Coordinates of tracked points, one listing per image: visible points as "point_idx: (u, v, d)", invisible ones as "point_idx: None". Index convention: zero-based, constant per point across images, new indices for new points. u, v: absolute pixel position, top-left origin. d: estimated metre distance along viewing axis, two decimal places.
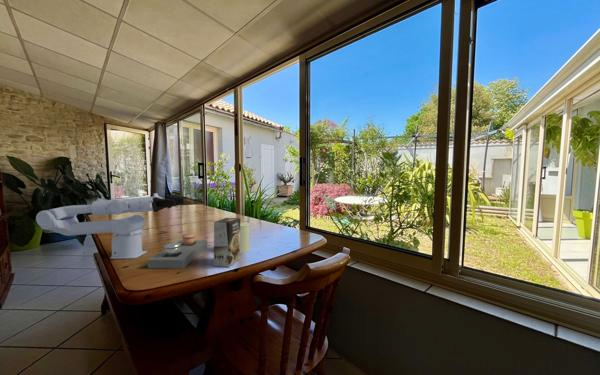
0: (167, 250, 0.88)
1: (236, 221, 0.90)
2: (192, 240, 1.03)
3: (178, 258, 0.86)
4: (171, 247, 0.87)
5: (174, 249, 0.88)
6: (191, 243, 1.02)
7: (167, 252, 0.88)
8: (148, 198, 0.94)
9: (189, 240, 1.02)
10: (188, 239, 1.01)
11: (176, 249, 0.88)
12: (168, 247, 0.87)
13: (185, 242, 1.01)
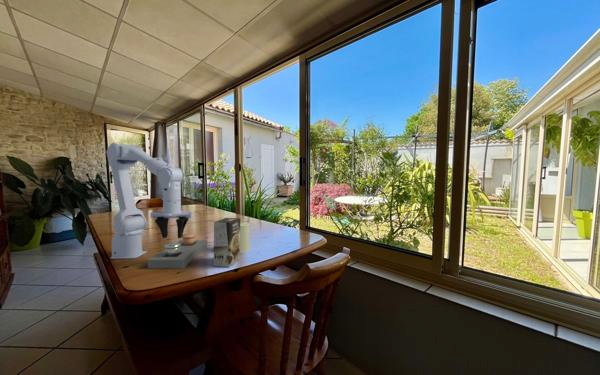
0: (167, 250, 0.88)
1: (236, 221, 0.90)
2: (192, 240, 1.03)
3: (178, 258, 0.86)
4: (171, 247, 0.87)
5: (174, 249, 0.88)
6: (191, 243, 1.02)
7: (167, 252, 0.88)
8: (164, 208, 0.86)
9: (189, 240, 1.02)
10: (188, 239, 1.01)
11: (176, 249, 0.88)
12: (168, 247, 0.87)
13: (185, 242, 1.01)
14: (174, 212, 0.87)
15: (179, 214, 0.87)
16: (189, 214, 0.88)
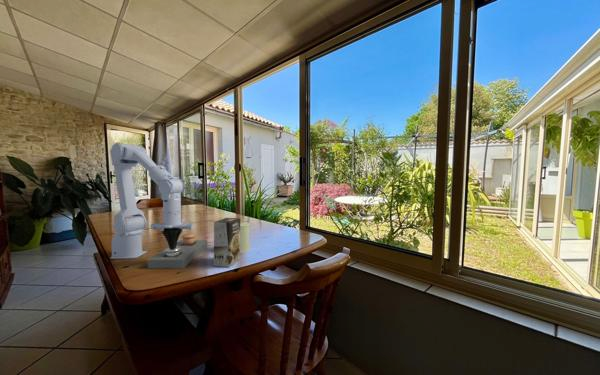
0: (167, 254, 0.88)
1: (236, 221, 0.90)
2: (192, 240, 1.03)
3: (178, 258, 0.86)
4: (171, 251, 0.87)
5: (174, 253, 0.88)
6: (191, 243, 1.02)
7: (167, 256, 0.88)
8: (164, 220, 0.87)
9: (189, 240, 1.02)
10: (188, 239, 1.01)
11: (176, 253, 0.89)
12: (168, 251, 0.87)
13: (185, 242, 1.01)
14: (174, 223, 0.87)
15: (179, 225, 0.87)
16: (189, 225, 0.88)
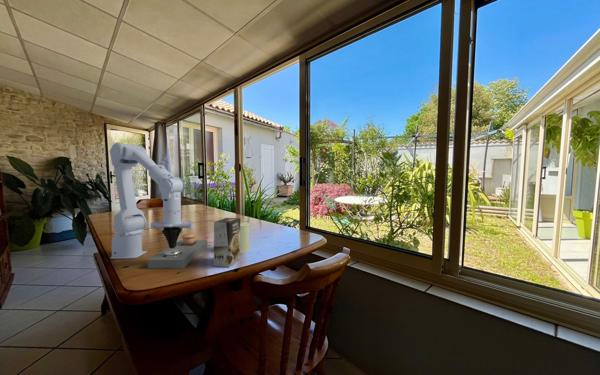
0: None
1: (236, 221, 0.90)
2: (192, 240, 1.03)
3: (178, 258, 0.86)
4: (171, 254, 0.87)
5: (174, 256, 0.88)
6: (191, 243, 1.02)
7: None
8: (164, 219, 0.87)
9: (189, 240, 1.02)
10: (188, 239, 1.01)
11: (176, 256, 0.89)
12: (168, 254, 0.87)
13: (185, 242, 1.01)
14: (174, 223, 0.87)
15: (179, 225, 0.87)
16: (189, 224, 0.88)
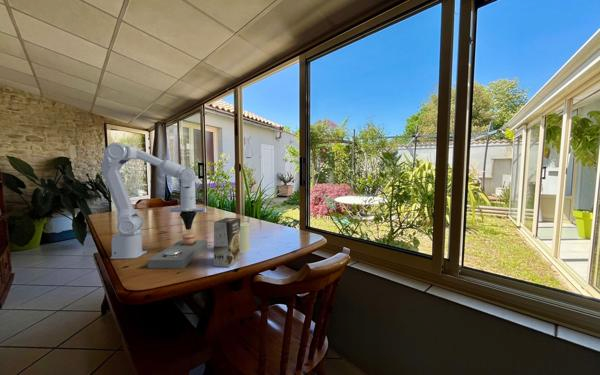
0: None
1: (236, 221, 0.90)
2: (192, 240, 1.03)
3: (178, 258, 0.86)
4: (171, 254, 0.87)
5: (174, 256, 0.88)
6: (191, 243, 1.02)
7: None
8: (182, 204, 1.00)
9: (189, 240, 1.02)
10: (188, 239, 1.01)
11: (176, 256, 0.89)
12: (168, 254, 0.87)
13: (185, 242, 1.01)
14: (190, 207, 1.01)
15: (194, 209, 1.01)
16: (203, 209, 1.02)
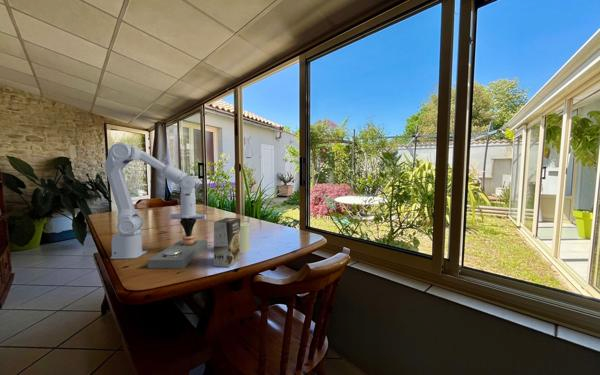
0: None
1: (236, 221, 0.90)
2: (192, 241, 1.03)
3: (178, 258, 0.86)
4: (171, 254, 0.87)
5: (174, 256, 0.88)
6: (191, 244, 1.02)
7: None
8: (182, 211, 1.00)
9: (189, 241, 1.02)
10: (188, 240, 1.01)
11: (176, 256, 0.89)
12: (168, 254, 0.87)
13: (185, 243, 1.01)
14: (190, 214, 1.01)
15: (194, 216, 1.01)
16: (203, 216, 1.02)
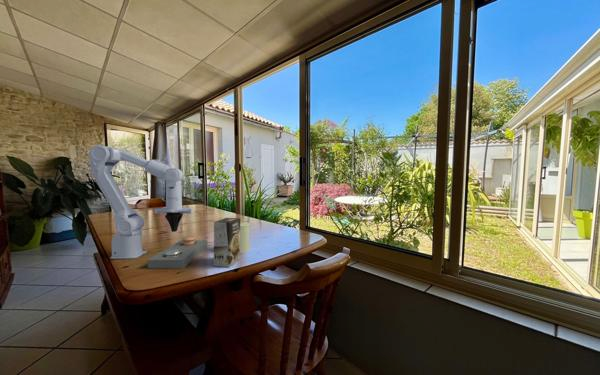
0: None
1: (236, 221, 0.90)
2: (192, 243, 1.03)
3: (178, 258, 0.86)
4: (171, 254, 0.87)
5: (174, 256, 0.88)
6: None
7: None
8: (167, 205, 0.96)
9: (189, 243, 1.02)
10: (188, 242, 1.01)
11: (176, 256, 0.89)
12: (168, 254, 0.87)
13: (185, 245, 1.01)
14: (176, 208, 0.97)
15: (180, 210, 0.97)
16: (189, 210, 0.98)
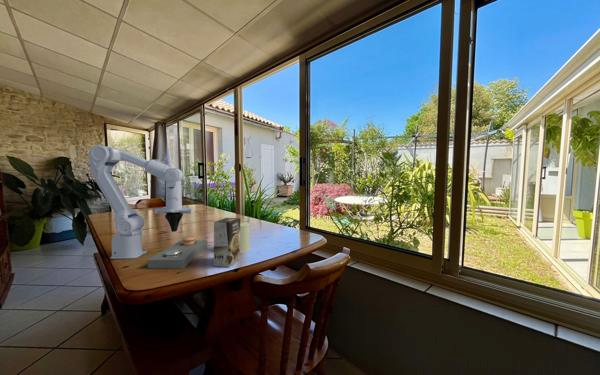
0: None
1: (236, 221, 0.90)
2: (192, 243, 1.03)
3: (178, 258, 0.86)
4: (171, 254, 0.87)
5: (174, 256, 0.88)
6: None
7: None
8: (167, 205, 0.96)
9: (189, 243, 1.02)
10: (188, 242, 1.01)
11: (176, 256, 0.89)
12: (168, 254, 0.87)
13: (185, 245, 1.01)
14: (176, 208, 0.97)
15: (180, 210, 0.97)
16: (189, 210, 0.98)
